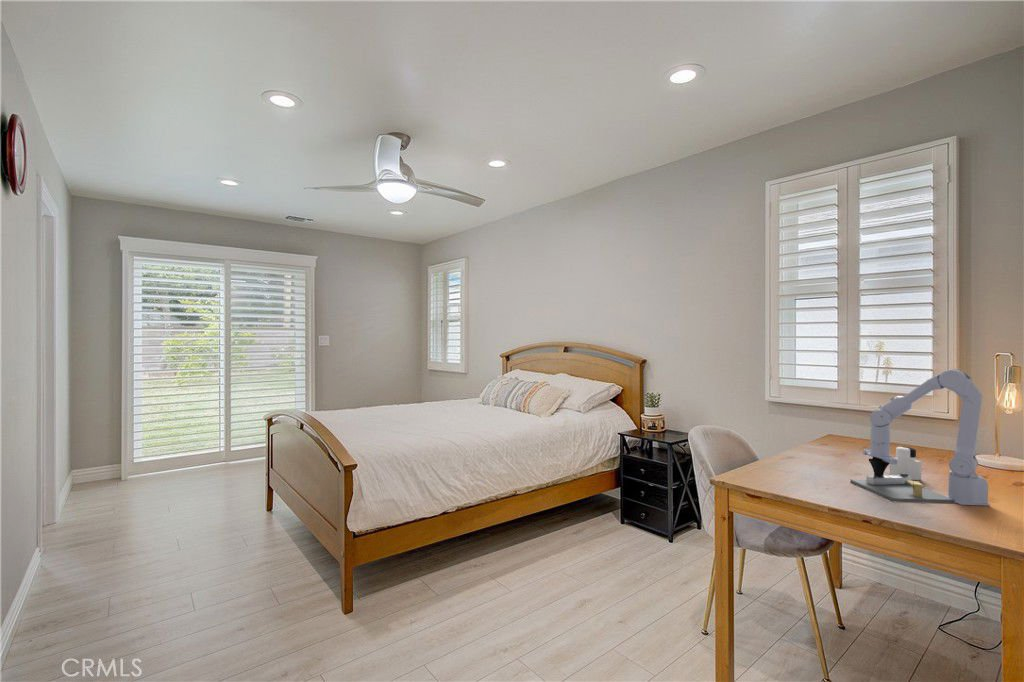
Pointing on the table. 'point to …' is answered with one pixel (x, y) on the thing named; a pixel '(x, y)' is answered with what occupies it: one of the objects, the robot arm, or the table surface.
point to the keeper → (916, 488)
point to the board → (902, 492)
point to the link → (887, 479)
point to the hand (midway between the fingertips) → (878, 478)
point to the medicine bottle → (906, 463)
